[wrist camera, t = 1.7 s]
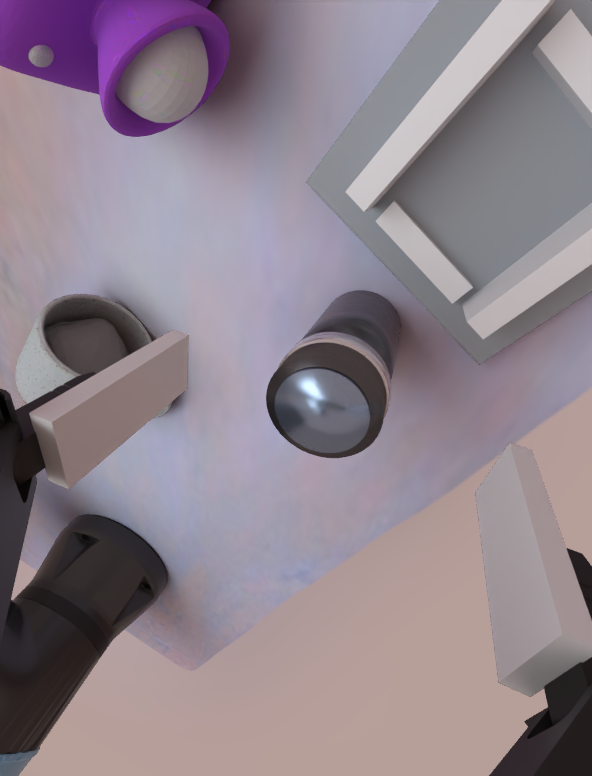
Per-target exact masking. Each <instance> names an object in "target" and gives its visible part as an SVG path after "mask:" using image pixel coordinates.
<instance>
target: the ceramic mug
mask: <svg viewBox="0 0 592 776" xmlns="http://www.w3.org/2000/svg"><path fill="white" fill-rule="evenodd" d="M151 342H152V339H151V337H150V336H149V334H148V332H147V330H146V329H145V327H144V326H143V325H142V323H141V322H140V321H139V320H138V319H137V318H136V317H135V316H134V315H133V314H132V313H131V312H130V311H128V310H127V309H125V308H124V307H122V306H121V305H119V304H117V303H115V302H113V301H111V300H109V299H106V298H103V297H100V296H96V295H88V294H73V295H67V296H63V297H61V298H58V299H55V300H53V301H52V302H50V303H49V304H48V305H46V306H45V307H44V309H43V310H42V311H41V312H40V314H39V315H38V317H37V319H36V322H35V325H34V327H33V329H32V331H31V333H30V335H29V337H28V340H27V342H26V344H25V347H24V349H23V351H22V353H21V355H20V357H19V359H18V362H17V366H16V385H17V389H18V392H19V394H20V395H21V397H22V398H23V400H24V401H25V403H26V404H28V403H30V402H32V401H33V400H35V399H37V398H39V397H41V396H42V395H44V394H46V393H48V392H50V391H53V389H55V388H57V387H59V386H61V385H62V386H63V385H64V383H66V382H68V381H70V380H71V379H73V378H75V377H77V376H80V375H84V374H87V373H91V372H95V373H99V372H101V371H103V370H104V369H106V368H108V367H109V366H111V365H113V364H115V363H116V362H118V361H120V360H122V359H123V358H125V357H127V356H128V355H130V354H132V353H134V352H135V351H137V350H139V349H141V348H142V347H144V346H146V345H148V344H149V343H151ZM171 404H172V402H171V403H170V404H169V405H168V406H166V407H165V408H164V409H163V410H162V411H160V412H159V413H158V414H157V415H156V416H155V417H153V418H157V417H160V416H162V415H164V414H165V413H166V412H167V411H168V410H169V409H170V407H171ZM153 418H152V419H153Z"/></svg>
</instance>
